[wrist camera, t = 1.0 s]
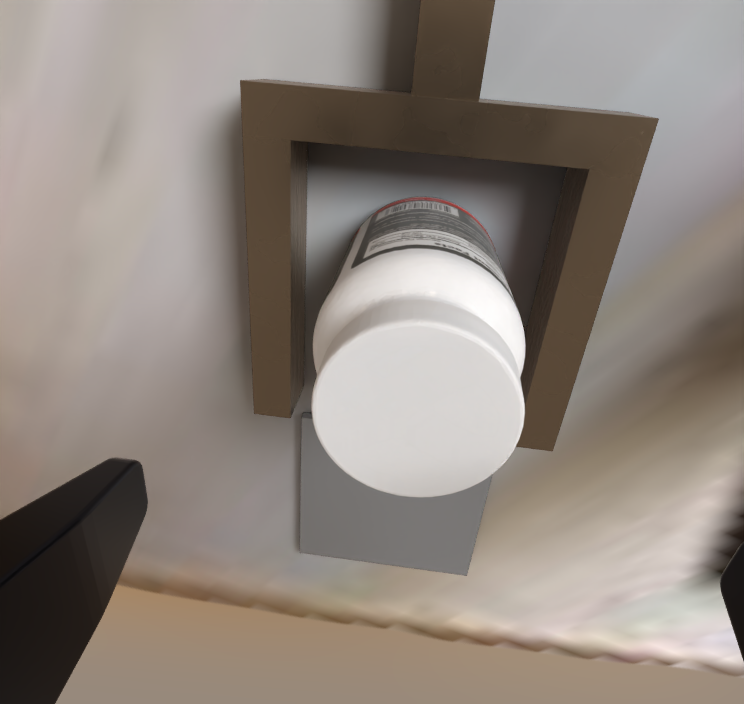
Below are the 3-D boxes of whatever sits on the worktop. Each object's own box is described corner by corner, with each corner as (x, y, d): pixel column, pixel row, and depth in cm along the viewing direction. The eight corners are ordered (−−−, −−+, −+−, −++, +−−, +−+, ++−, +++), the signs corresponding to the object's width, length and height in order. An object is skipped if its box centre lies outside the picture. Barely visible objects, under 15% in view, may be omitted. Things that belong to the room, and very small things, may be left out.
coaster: (499, 436, 23) (500, 442, 23) (466, 569, 28) (466, 575, 27) (303, 412, 24) (301, 417, 23) (301, 546, 28) (299, 552, 28)
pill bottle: (424, 359, 22) (419, 550, 13) (318, 273, 20) (234, 423, 12) (528, 262, 19) (607, 418, 11) (416, 157, 18) (402, 238, 9)
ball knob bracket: (734, -249, 13) (797, -315, 10) (540, 414, 22) (552, 451, 20) (257, -275, 13) (222, -343, 11) (270, 381, 23) (253, 413, 21)
